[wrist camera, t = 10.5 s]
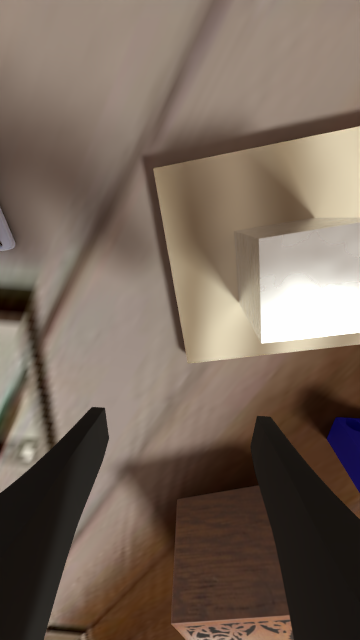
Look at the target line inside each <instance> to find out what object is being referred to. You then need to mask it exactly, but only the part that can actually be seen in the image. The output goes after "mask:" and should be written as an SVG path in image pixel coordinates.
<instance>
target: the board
mask: <svg viewBox="0 0 360 640" xmlns="http://www.w3.org/2000/svg"><path fill="white" fill-rule="evenodd" d="M153 171H154V176H155V182H156V187H157V193H158V199H159V204H160V210H161V215H162V221H163V227H164V232H165V238H166V243H167V249H168V255H169V260H170V266H171V271H172V277H173V283H174V288H175V294H176V299H177V305H178V311H179V316H180V322H181V327H182V333H183V339H184V344H185V350H186V356H187V361H188V363H197V362H206V361H215V360H224V359H233V358H242V357H251V356H259V355H268V354H277V353H286V352H295V351H304V350H313V349H322V348H330V347H339V346H348V345H357V344H360V332H357V333H348V334H339V335H331V336H322V337H314V338H305V339H296V340H288V341H279V342H270V343H261V342H260V340H259V338H258V336H257V335H256V333H255V331H254V329H253V327H252V326H251V324H250V322H249V320H248V318H247V317H246V315H245V313H244V311H243V310H242V308H241V306H240V304H239V298H238V282H237V267H236V251H235V236H234V231H237V230H243V229H249V228H255V227H261V226H267V225H273V224H279V223H285V222H291V221H297V220H303V219H309V218H360V126H359V127H354V128H349V129H344V130H339V131H334V132H329V133H324V134H320V135H315V136H310V137H305V138H300V139H295V140H290V141H285V142H280V143H276V144H271V145H266V146H261V147H256V148H251V149H246V150H241V151H236V152H231V153H227V154H222V155H217V156H212V157H207V158H202V159H197V160H192V161H187V162H183V163H178V164H173V165H168V166H163V167H158V168H153Z"/></svg>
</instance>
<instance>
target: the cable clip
mask: <svg viewBox="0 0 360 640" xmlns="http://www.w3.org/2000/svg"><path fill="white" fill-rule="evenodd" d="M327 440H328V442H329V443H330V445H331V447H332V448H333V450H334V452H335V453H336V455H337V456H338V458H339V460H340V461H341V463H342V465H343V466H344V468H345V470H346V471H347V473H348V474H349V476H350V478H351V479H352V481H353V483H354V484H355V486H356V488H357V489H358V491H359V492H360V419H358V418H342V417H336V418H335V420H334V423H333V425H332V427H331V430H330V432H329V435H328V437H327Z"/></svg>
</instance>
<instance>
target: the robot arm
mask: <svg viewBox="0 0 360 640" xmlns="http://www.w3.org/2000/svg"><path fill="white" fill-rule="evenodd" d="M0 241H1V243H2V246H0V251H5V250H10V249H13V248H14V247H15V241H14V238H13V236H12V234H11V231H10V229H9V227H8V224H7V222H6V219H5V217H4V215H3V212H2V210H1V208H0ZM108 440H109V435H108V428H107V420H106V413H105V408H99V407H92V408H91V409H90V410H89V411H88V412H87V413H86V414H85V415H84V416H83V417H82V418H81V419H80V420H79V421H78V422H77V423H76V424H75V426H74V427H73V428H72V429H71V430H70V431H69V432H68V433H67V434H66V435H65V436H64V437H63V438H62V439H61V440H60V441H59V442H58V443H57V444H56V445H55V446H54V447H53V448H52V449H51V450H50V451H49V452H47V453H46V454H45V455H44V456H43V457H42V458H41V459H40V460H39V461H38V462H37V463H36V464H35V465H33V466H32V467H31V468H30V469H29V470H28V471H27V472H25V473H24V474H23V475H22V476H21V477H20V478H18V479H17V480H16V481H15V482H14V483H12V484H11V485H10V486H9V487H8V488H6V489H5V490H4V491H2V492H1V493H0V640H44V636H45V633H46V629H47V625H48V622H49V618H50V615H51V611H52V608H53V604H54V600H55V597H56V593H57V590H58V587H59V583H60V580H61V576H62V573H63V570H64V566H65V563H66V560H67V556H68V553H69V550H70V547H71V544H72V540H73V537H74V534H75V531H76V528H77V525H78V522H79V520H80V517H81V514H82V512H83V509H84V507H85V504H86V502H87V499H88V497H89V494H90V492H91V489H92V487H93V484H94V482H95V479H96V477H97V474H98V472H99V469H100V467H101V464H102V461H103V458H104V455H105V451H106V447H107V444H108ZM250 447H251V453H252V459H253V464H254V469H255V473H256V477H257V481H258V484H259V488H260V491H261V495H262V498H263V501H264V505H265V508H266V512H267V515H268V519H269V522H270V526H271V529H272V533H273V537H274V541H275V545H276V550H277V555H278V559H279V564H280V569H281V574H282V579H283V584H284V589H285V594H286V599H287V605H288V610H289V615H290V621H291V626H292V632H293V638H294V640H360V519H359V518H358V517H357V516H356V515H355V514H354V513H353V512H352V511H351V510H350V509H349V508H348V507H347V506H346V505H345V504H344V503H343V502H342V501H341V500H340V499H339V498H338V497H337V496H336V495H335V494H334V493H333V492H332V491H331V490H330V489H329V488H328V487H327V485H326V484H325V483H324V482H323V481H322V480H321V479H320V478H319V477H318V475H317V474H316V473H315V472H314V471H313V470H312V469H311V467H310V466H309V465H308V464H307V463H306V461H305V460H304V459H303V458H302V457H301V455H300V454H299V453H298V452H297V450H296V449H295V448H294V447H293V445H292V444H291V443H290V442H289V440H288V439H287V438H286V436H285V435H284V434H283V433H282V431H281V430H280V429H279V427H278V426H277V425H276V423H275V422H274V421H273V419H272V418H271V417H265V416H257V419H256V423H255V428H254V433H253V437H252V442H251V446H250Z"/></svg>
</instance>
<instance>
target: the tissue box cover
mask: <svg viewBox="0 0 360 640" xmlns="http://www.w3.org/2000/svg"><path fill="white" fill-rule="evenodd" d="M171 624H172V625H173V626H174V627H175V628H176V629H177V631H178V632H179V633H180V634H181V635H182V636H183V637H184V638H185V639H186V640H294V638H293V632H292V626H291V621H290V615H289V610H288V605H287V599H286V594H285V589H284V584H283V579H282V574H281V569H280V564H279V559H278V555H277V550H276V545H275V541H274V537H273V533H272V529H271V526H270V522H269V519H268V515H267V512H266V508H265V505H264V501H263V498H262V495H261V491H260V488H259V485H258V486H252V487H246V488H240V489H234V490H228V491H222V492H216V493H211V494H205V495H199V496H193V497H187V498H181V499H177V514H176V534H175V555H174V575H173V596H172V616H171Z"/></svg>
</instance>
